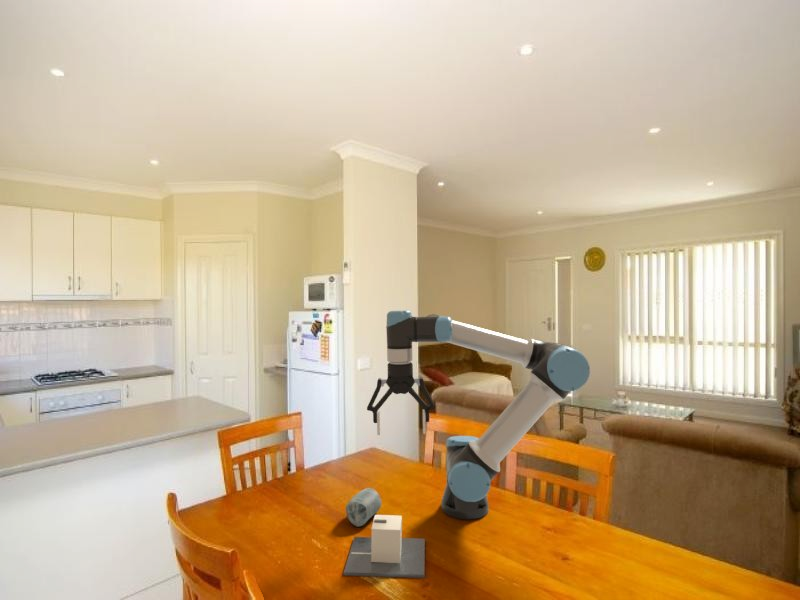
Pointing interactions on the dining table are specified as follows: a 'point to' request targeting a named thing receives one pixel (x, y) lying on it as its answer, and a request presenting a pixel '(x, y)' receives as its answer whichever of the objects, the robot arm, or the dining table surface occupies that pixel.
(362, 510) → the spool
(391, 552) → the white drawer box
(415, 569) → the gray board
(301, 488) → the dining table surface
